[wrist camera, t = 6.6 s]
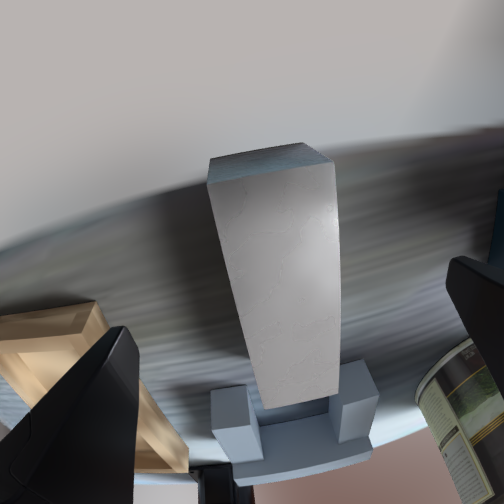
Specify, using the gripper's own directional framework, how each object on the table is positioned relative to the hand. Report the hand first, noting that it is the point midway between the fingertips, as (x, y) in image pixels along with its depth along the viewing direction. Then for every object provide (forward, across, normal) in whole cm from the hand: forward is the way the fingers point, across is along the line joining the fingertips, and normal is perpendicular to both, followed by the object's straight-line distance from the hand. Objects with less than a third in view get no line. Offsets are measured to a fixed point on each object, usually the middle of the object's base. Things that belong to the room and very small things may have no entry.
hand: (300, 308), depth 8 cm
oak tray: (+7, +14, +12) cm, 20 cm away
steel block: (+7, 0, +3) cm, 8 cm away
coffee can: (+7, -16, +19) cm, 26 cm away
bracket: (+7, 0, +15) cm, 16 cm away
